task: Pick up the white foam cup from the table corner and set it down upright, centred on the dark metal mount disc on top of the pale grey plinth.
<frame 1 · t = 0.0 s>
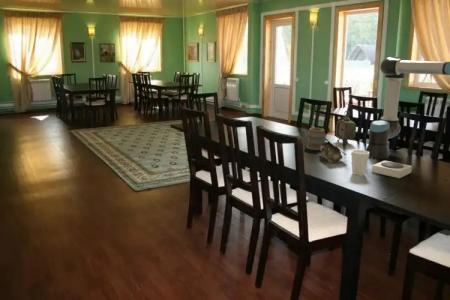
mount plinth: (391, 172, 226), on the table
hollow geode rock: (331, 159, 254), on the table
tankard: (314, 147, 286), on the table
foam cup: (358, 174, 222), on the table
tabletop clock: (344, 143, 300), on the table
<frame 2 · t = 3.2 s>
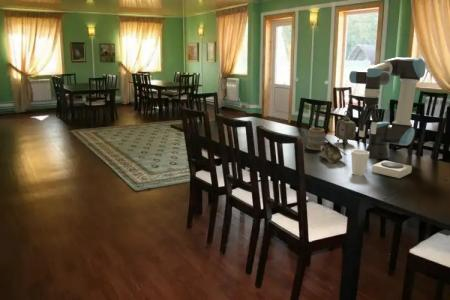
hand: (367, 135, 217), 22 cm above the table, fingers open, 13 cm apart
nothing on the table moved.
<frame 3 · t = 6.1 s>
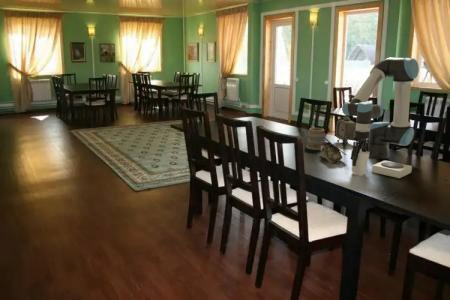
hand: (358, 169, 221), 3 cm above the table, fingers closed on foam cup, 9 cm apart
foam cup: (358, 174, 222), on the table, touching gripper
everything else where it was.
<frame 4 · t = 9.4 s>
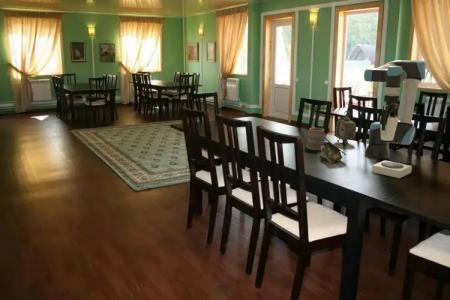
hand: (387, 134, 220), 22 cm above the table, fingers closed on foam cup, 9 cm apart
foam cup: (386, 139, 221), point 19 cm above the table, touching gripper
everything else where it was.
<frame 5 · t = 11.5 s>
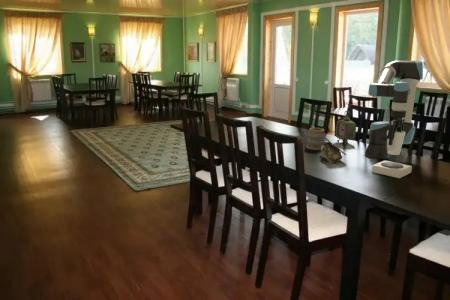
hand: (394, 149, 223), 14 cm above the table, fingers closed on foam cup, 9 cm apart
foam cup: (393, 153, 223), point 11 cm above the table, touching gripper
everything else where it was.
when the fingers open (8 cm above the table, at t = 13.1 s): foam cup drops 1 cm, resting on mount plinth.
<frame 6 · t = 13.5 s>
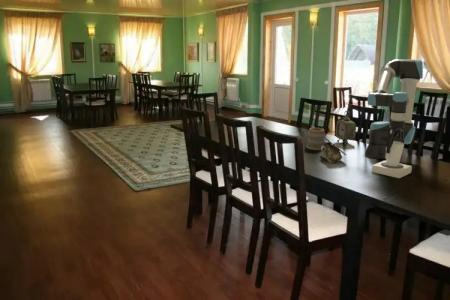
hand: (393, 156, 224), 9 cm above the table, fingers open, 13 cm apart
foam cup: (392, 165, 225), point 4 cm above the table, touching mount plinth
everything else where it was.
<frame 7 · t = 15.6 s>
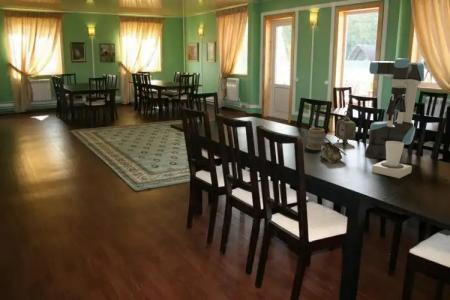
hand: (394, 124, 221), 27 cm above the table, fingers open, 13 cm apart
nothing on the table moved.
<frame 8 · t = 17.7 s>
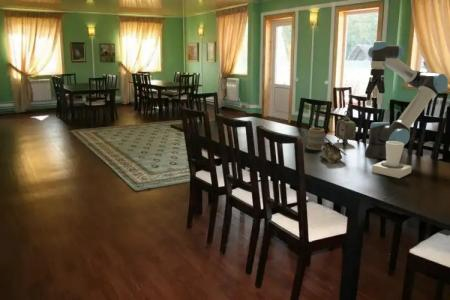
hand: (373, 104, 235), 37 cm above the table, fingers open, 13 cm apart
nothing on the table moved.
at the end: foam cup 0.1 cm from the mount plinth (horizontally); foam cup point 4.2 cm above the table; foam cup tilted 0° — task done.
